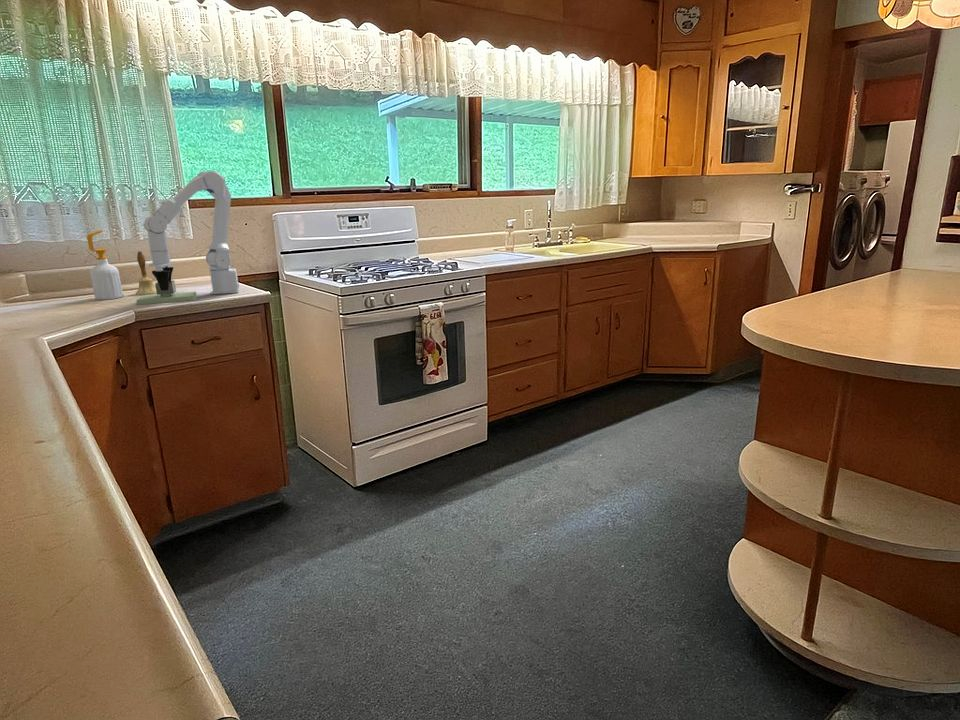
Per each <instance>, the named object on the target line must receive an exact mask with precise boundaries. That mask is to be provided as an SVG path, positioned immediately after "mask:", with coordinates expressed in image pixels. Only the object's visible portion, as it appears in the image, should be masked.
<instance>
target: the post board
mask: <svg viewBox="0 0 960 720" xmlns="http://www.w3.org/2000/svg"><path fill="white" fill-rule="evenodd" d="M197 296H198V295H197V291H187V292H175V293H174V294H162V295H157V293H156V294H150V295H140V296H139V297H138V298H137V299H136V304H137V305H146V304H147V305H148V304H161V303H163V304H164V303H173V302H186V301H187V300H189V301H194V300H195V299H196V298H197ZM187 302H188V301H187Z"/></svg>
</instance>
